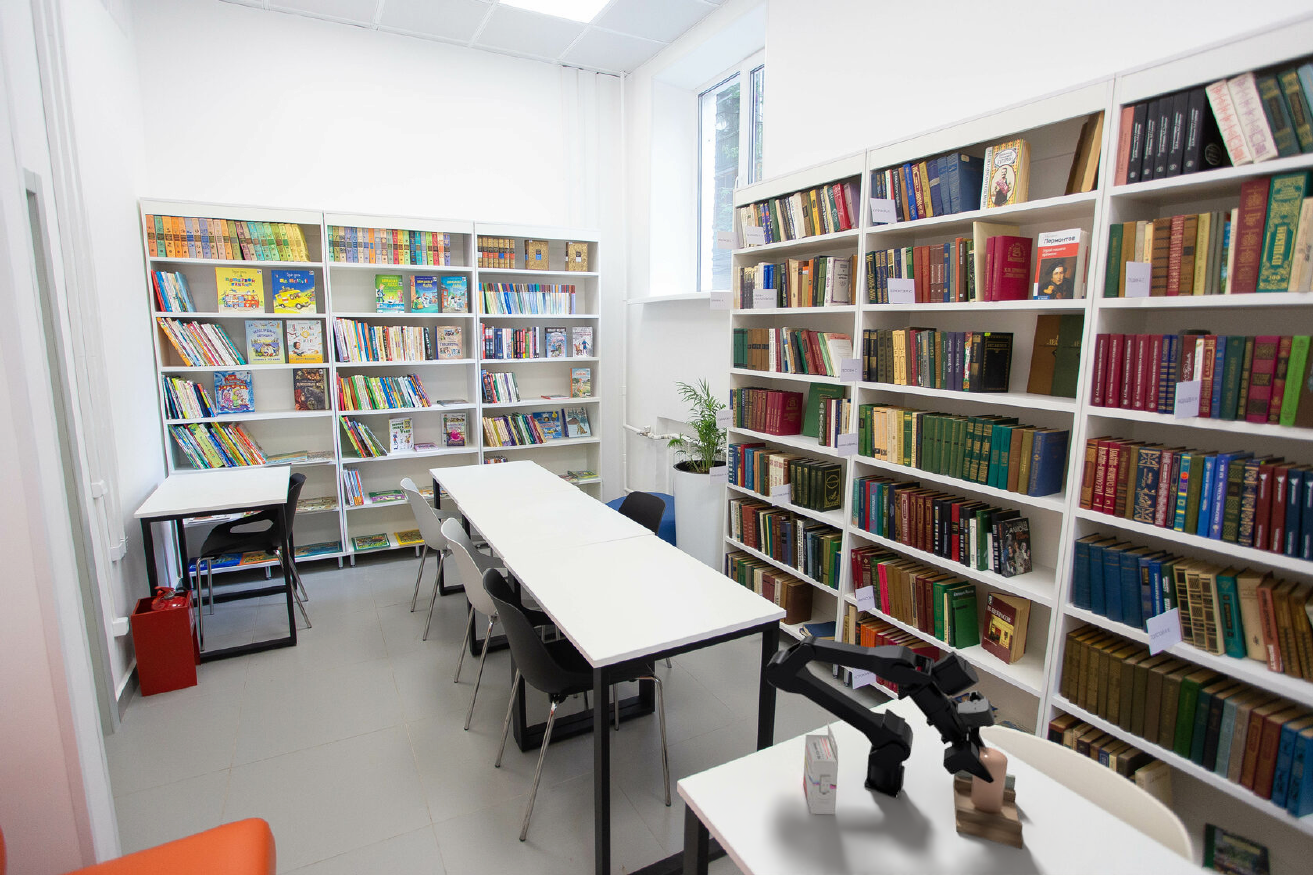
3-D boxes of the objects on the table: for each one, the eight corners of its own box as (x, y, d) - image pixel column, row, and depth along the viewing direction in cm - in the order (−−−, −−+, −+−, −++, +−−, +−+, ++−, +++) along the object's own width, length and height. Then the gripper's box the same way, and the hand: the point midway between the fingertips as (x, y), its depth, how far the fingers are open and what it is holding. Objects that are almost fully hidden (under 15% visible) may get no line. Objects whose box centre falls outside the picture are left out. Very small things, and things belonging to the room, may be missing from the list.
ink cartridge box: (801, 784, 135) (805, 719, 133) (825, 785, 135) (829, 720, 133) (810, 814, 127) (814, 746, 124) (835, 815, 127) (840, 747, 124)
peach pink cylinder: (968, 805, 126) (973, 758, 125) (971, 788, 131) (977, 743, 129) (1000, 816, 124) (1006, 769, 122) (1003, 799, 128) (1008, 753, 127)
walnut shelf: (956, 830, 123) (958, 806, 122) (953, 783, 136) (955, 761, 135) (1021, 848, 119) (1025, 823, 118) (1012, 798, 132) (1015, 775, 131)
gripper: (969, 711, 117) (1032, 785, 114) (970, 664, 134) (1025, 728, 131) (918, 738, 122) (978, 810, 119) (925, 689, 138) (978, 751, 136)
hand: (991, 772), depth 126 cm, fingers closed on peach pink cylinder, 5 cm apart
